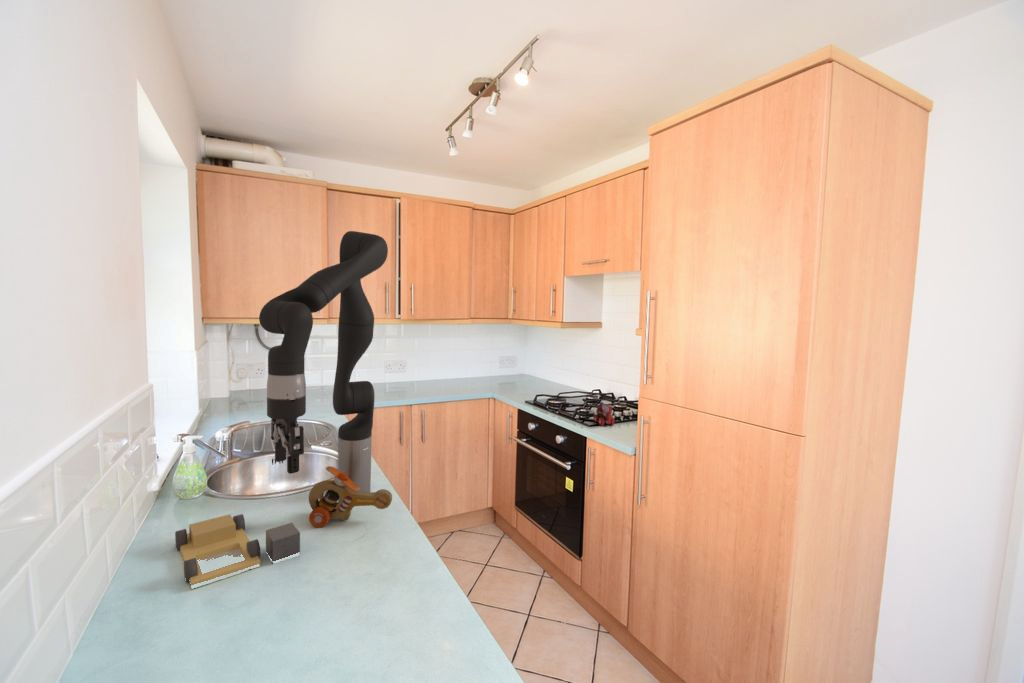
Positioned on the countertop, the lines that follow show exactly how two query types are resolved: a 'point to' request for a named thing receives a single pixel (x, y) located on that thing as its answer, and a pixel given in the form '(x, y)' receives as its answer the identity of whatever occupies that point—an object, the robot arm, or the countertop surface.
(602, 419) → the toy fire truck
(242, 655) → the countertop surface
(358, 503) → the toy helicopter
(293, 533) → the block
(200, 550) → the chassis
